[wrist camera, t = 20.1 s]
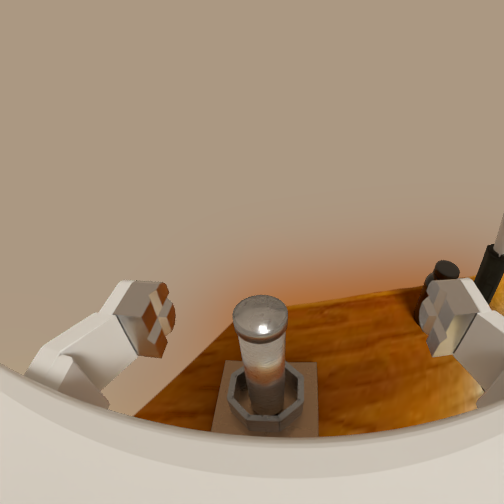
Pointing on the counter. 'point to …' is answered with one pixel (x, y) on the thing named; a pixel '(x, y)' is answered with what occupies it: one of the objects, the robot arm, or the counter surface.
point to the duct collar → (278, 425)
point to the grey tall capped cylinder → (263, 350)
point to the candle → (491, 267)
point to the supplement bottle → (441, 272)
